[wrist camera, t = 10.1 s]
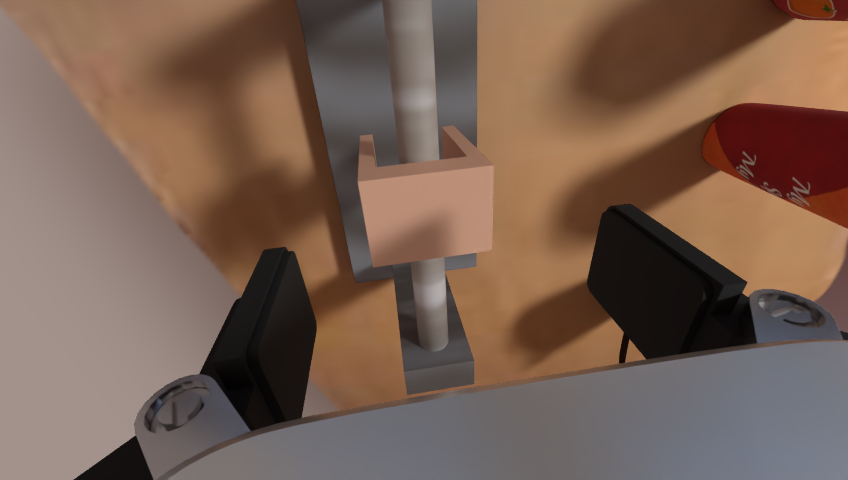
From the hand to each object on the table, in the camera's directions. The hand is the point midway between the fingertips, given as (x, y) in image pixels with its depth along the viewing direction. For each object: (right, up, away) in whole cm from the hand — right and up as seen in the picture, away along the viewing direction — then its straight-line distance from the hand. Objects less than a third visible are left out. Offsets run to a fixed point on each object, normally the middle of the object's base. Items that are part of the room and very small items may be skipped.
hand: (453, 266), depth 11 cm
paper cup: (+26, +10, +20) cm, 35 cm away
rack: (-3, +9, +16) cm, 19 cm away
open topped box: (-2, +5, +10) cm, 12 cm away
